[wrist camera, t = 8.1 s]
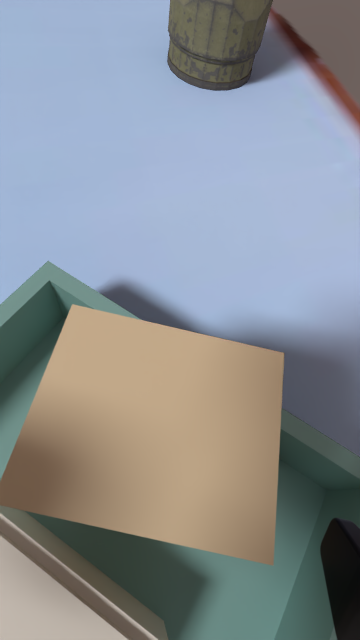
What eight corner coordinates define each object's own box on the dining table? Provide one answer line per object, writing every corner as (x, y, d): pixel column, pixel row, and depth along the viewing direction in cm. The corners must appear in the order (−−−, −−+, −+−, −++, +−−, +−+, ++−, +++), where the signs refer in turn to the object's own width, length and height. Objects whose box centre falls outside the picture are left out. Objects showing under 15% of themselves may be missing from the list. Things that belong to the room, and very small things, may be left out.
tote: (171, 973, 11) (195, 1260, 7) (-215, 595, 13) (-361, 636, 9) (338, 485, 18) (397, 481, 14) (64, 306, 21) (47, 260, 17)
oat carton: (193, 527, 15) (273, 565, 7) (73, 500, 15) (-9, 502, 6) (208, 426, 17) (284, 353, 9) (103, 402, 17) (72, 304, 9)
